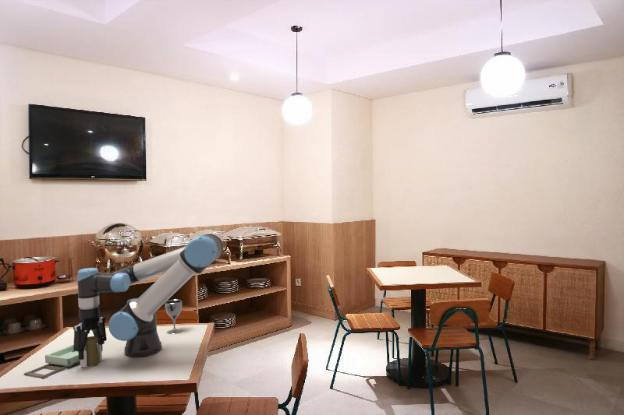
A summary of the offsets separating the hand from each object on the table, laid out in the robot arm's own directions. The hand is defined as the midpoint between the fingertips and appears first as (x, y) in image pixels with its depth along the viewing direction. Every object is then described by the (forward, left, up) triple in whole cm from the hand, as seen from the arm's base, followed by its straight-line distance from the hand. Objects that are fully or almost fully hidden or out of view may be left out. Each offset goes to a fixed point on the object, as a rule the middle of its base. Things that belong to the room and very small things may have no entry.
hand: (91, 363), depth 177 cm
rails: (+11, +5, 0) cm, 12 cm away
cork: (0, 0, 0) cm, 1 cm away
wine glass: (-5, -45, 0) cm, 45 cm away
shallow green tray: (+11, 0, 0) cm, 11 cm away
